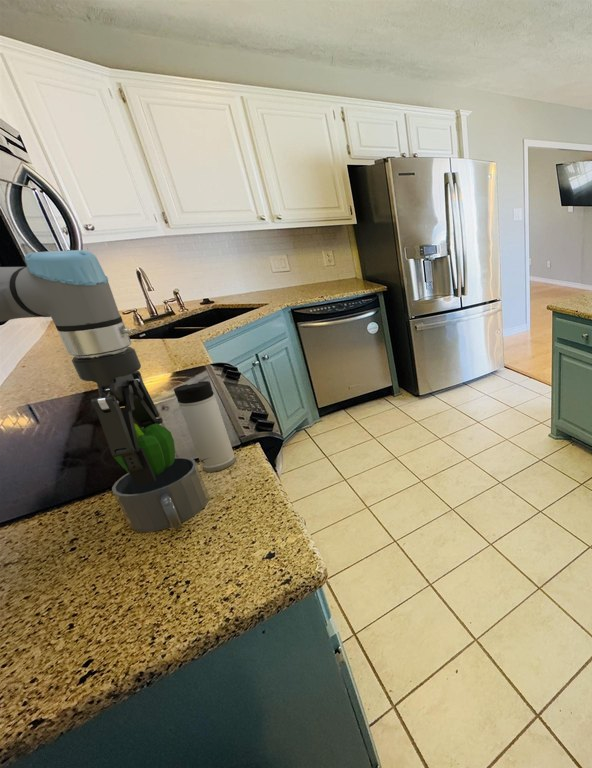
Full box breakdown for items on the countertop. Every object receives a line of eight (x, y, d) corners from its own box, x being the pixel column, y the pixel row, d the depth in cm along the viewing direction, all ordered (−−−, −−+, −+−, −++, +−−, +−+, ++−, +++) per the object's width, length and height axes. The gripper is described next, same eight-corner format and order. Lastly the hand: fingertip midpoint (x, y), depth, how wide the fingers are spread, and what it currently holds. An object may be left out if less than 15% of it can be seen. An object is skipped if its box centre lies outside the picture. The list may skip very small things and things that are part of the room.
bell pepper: (189, 466, 76) (171, 418, 72) (133, 489, 69) (110, 438, 65) (171, 453, 80) (153, 407, 76) (117, 473, 74) (94, 425, 70)
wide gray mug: (126, 511, 78) (109, 476, 75) (201, 482, 86) (188, 450, 83) (136, 554, 68) (117, 516, 64) (220, 517, 76) (207, 482, 72)
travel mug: (203, 476, 88) (171, 392, 80) (202, 462, 93) (172, 381, 85) (237, 466, 91) (209, 384, 83) (234, 453, 96) (209, 375, 88)
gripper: (107, 367, 58) (163, 496, 67) (151, 332, 76) (191, 438, 84) (36, 376, 55) (104, 510, 64) (99, 338, 73) (145, 447, 81)
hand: (153, 469), depth 74 cm, fingers closed on bell pepper, 8 cm apart
